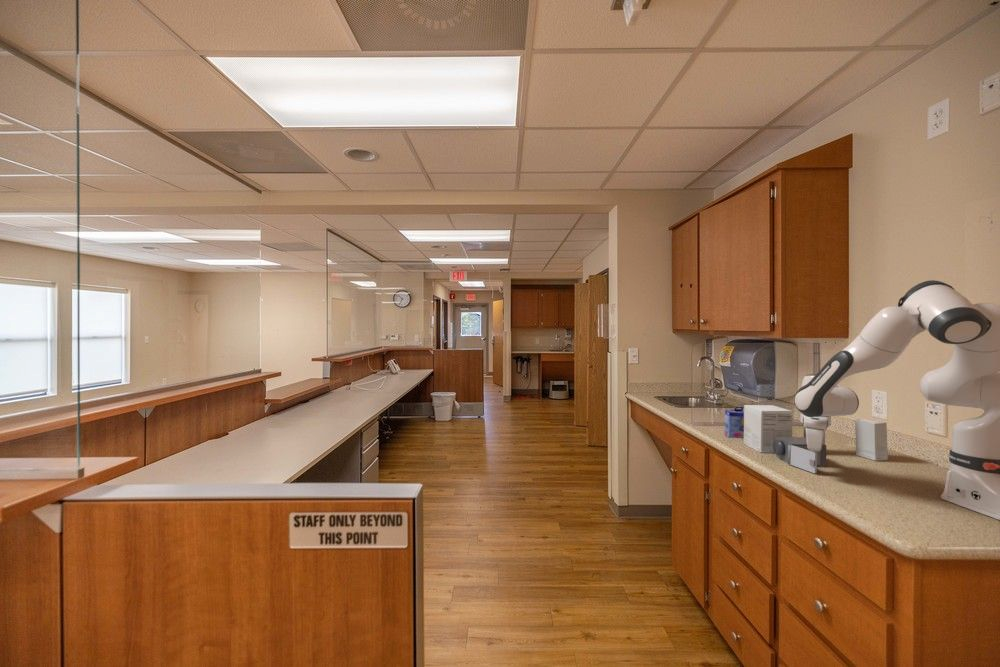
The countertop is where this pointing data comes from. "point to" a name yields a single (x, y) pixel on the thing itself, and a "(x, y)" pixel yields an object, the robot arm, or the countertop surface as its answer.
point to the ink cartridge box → (734, 422)
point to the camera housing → (801, 442)
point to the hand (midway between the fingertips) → (814, 457)
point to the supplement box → (766, 426)
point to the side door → (802, 458)
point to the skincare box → (871, 439)
